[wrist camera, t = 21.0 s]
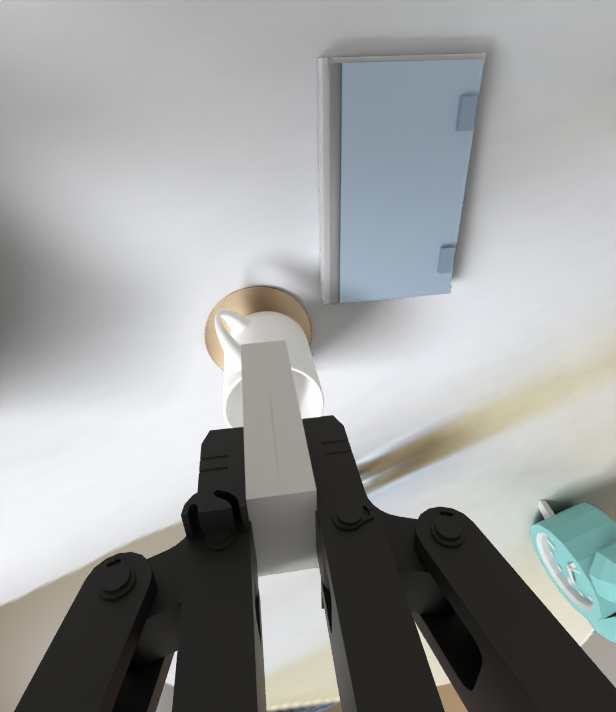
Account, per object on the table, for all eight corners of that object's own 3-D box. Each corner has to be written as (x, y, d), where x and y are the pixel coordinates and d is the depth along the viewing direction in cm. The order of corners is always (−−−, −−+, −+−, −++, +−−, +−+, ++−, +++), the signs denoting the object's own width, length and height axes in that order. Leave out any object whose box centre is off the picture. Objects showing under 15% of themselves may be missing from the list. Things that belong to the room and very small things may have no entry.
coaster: (213, 384, 49) (212, 386, 49) (197, 291, 43) (197, 293, 43) (312, 374, 50) (312, 376, 50) (309, 282, 45) (310, 283, 44)
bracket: (320, 295, 46) (324, 304, 44) (317, 58, 35) (322, 57, 33) (441, 284, 47) (450, 293, 45) (473, 54, 36) (486, 52, 34)
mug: (254, 265, 42) (260, 315, 33) (322, 350, 48) (342, 412, 39) (184, 315, 44) (171, 376, 35) (258, 392, 50) (264, 460, 41)
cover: (329, 300, 43) (332, 307, 42) (328, 63, 33) (332, 62, 32) (445, 289, 45) (452, 295, 44) (479, 59, 35) (488, 58, 33)
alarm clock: (524, 493, 67) (623, 631, 50) (586, 472, 67) (706, 605, 50) (528, 556, 76) (612, 691, 60) (582, 539, 76) (682, 670, 59)
